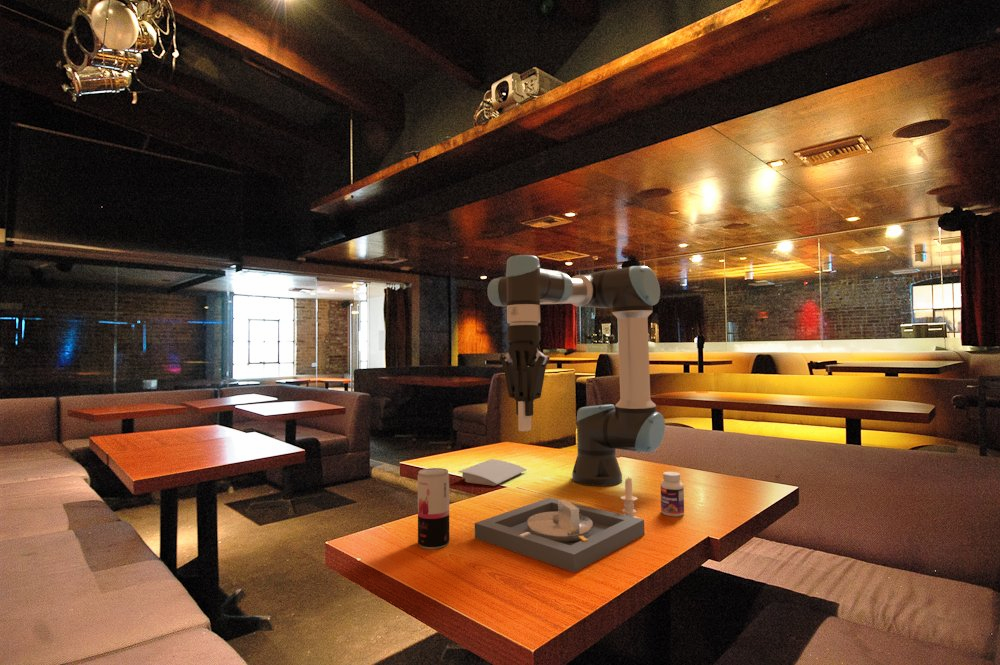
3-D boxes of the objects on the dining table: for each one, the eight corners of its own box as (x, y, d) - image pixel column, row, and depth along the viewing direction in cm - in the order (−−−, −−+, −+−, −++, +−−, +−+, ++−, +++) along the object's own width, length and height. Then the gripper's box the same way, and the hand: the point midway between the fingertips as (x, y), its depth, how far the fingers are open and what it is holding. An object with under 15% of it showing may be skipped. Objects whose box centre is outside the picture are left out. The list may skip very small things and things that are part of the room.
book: (451, 484, 158) (451, 471, 158) (488, 469, 178) (488, 458, 179) (494, 490, 151) (494, 477, 151) (528, 473, 171) (528, 462, 171)
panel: (549, 510, 129) (549, 496, 129) (644, 534, 111) (644, 518, 111) (474, 538, 110) (474, 521, 110) (574, 572, 92) (574, 552, 93)
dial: (519, 523, 116) (519, 492, 116) (577, 517, 119) (576, 487, 120) (542, 548, 101) (541, 512, 101) (607, 541, 104) (606, 506, 105)
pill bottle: (657, 513, 126) (656, 473, 126) (666, 508, 129) (665, 469, 130) (678, 518, 122) (677, 477, 122) (688, 513, 126) (686, 473, 126)
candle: (616, 523, 119) (615, 478, 119) (619, 516, 124) (618, 473, 124) (640, 525, 117) (638, 479, 117) (641, 518, 122) (640, 474, 122)
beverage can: (422, 551, 103) (422, 476, 104) (414, 541, 109) (414, 469, 110) (453, 546, 106) (453, 472, 106) (444, 536, 112) (443, 466, 112)
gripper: (491, 325, 117) (492, 429, 116) (535, 322, 108) (536, 435, 107) (513, 326, 123) (514, 426, 122) (556, 323, 114) (558, 431, 113)
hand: (524, 430), depth 114 cm, fingers closed
